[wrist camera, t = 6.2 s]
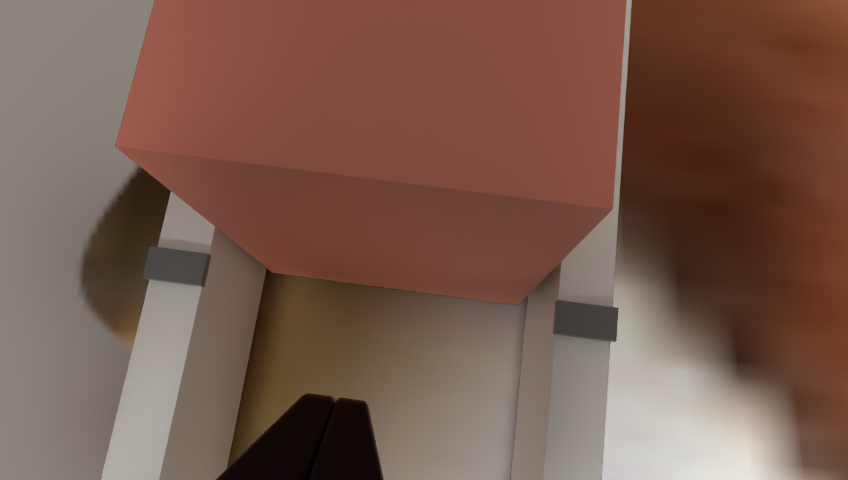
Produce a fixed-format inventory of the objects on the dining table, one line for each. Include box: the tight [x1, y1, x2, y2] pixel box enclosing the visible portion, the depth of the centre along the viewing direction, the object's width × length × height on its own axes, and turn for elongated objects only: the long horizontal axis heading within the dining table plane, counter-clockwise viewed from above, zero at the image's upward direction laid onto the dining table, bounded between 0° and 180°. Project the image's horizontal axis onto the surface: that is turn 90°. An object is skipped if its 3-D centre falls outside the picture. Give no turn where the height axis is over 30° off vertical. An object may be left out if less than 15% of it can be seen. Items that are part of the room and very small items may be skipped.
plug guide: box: [101, 0, 632, 480], centre depth 14 cm, size 19×9×4 cm, turn 172°
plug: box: [115, 0, 627, 305], centre depth 12 cm, size 6×6×8 cm
